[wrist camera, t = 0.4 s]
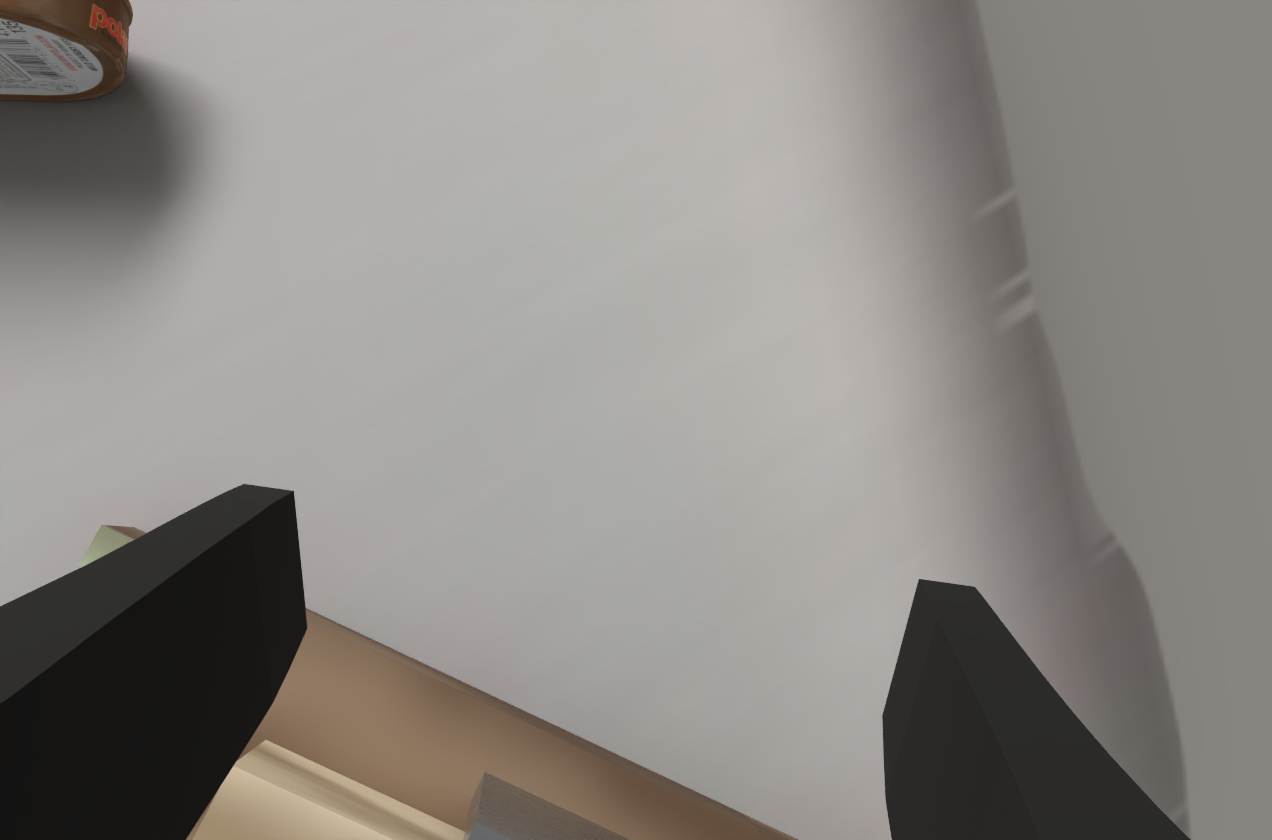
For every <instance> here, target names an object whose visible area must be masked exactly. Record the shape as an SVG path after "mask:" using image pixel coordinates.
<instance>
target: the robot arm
mask: <svg viewBox="0 0 1272 840" xmlns="http://www.w3.org/2000/svg"><path fill="white" fill-rule="evenodd" d="M306 631H307V619H306V609H305V599H304V589H303V579H302V569H301V559H300V549H299V539H298V529H297V519H296V509H295V499H294V491H290V490H283V489H275V488H268V487H261V486H254V485H247V484H243V485H241V486H238V487H236V488H234V489H232V490H229V491H227V492H225V493H223V494H221V495H219V496H217V497H215V498H213V499H211V500H209V501H207V502H205V503H203V504H201V505H199V506H197V507H195V508H193V509H191V510H189V511H188V512H186V513H184V514H182V515H180V516H178V517H176V518H174V519H173V520H171V521H169V522H167V523H165V524H163V525H161V526H159V527H158V528H156V529H154V530H152V531H150V532H148V533H146V534H144V535H142V536H141V537H139V538H137V539H135V540H133V541H131V542H129V543H127V544H125V545H123V546H121V547H120V548H118V549H116V550H114V551H112V552H110V553H108V554H106V555H104V556H102V557H101V558H99V559H97V560H95V561H93V562H91V563H89V564H87V565H85V566H83V567H81V568H79V569H77V570H75V571H73V572H71V573H69V574H67V575H65V576H63V577H61V578H59V579H57V580H55V581H52V582H50V583H48V584H46V585H44V586H42V587H40V588H38V589H36V590H34V591H32V592H30V593H27V594H25V595H23V596H21V597H19V598H17V599H15V600H13V601H11V602H9V603H7V604H5V605H3V606H0V840H186V839H187V837H188V836H189V834H190V833H191V831H192V830H193V828H194V826H195V825H196V823H197V822H198V820H199V819H200V817H201V816H202V814H203V812H204V811H205V809H206V808H207V806H208V805H209V803H210V802H211V800H212V799H213V797H214V795H215V794H216V792H217V791H218V789H219V788H220V786H221V785H222V783H223V781H224V780H225V778H226V777H227V775H228V774H229V772H230V771H231V769H232V768H233V766H234V764H235V763H236V761H237V760H238V758H239V757H240V755H241V753H242V752H243V750H244V749H245V747H246V746H247V744H248V742H249V741H250V739H251V738H252V736H253V734H254V733H255V731H256V730H257V728H258V727H259V725H260V723H261V722H262V720H263V719H264V717H265V715H266V714H267V712H268V710H269V709H270V707H271V705H272V704H273V702H274V700H275V698H276V696H277V694H278V692H279V690H280V688H281V685H282V683H283V681H284V679H285V677H286V675H287V673H288V671H289V669H290V667H291V664H292V662H293V660H294V658H295V655H296V653H297V651H298V649H299V646H300V644H301V642H302V640H303V637H304V635H305V633H306ZM883 747H884V773H885V794H886V805H887V811H888V818H889V824H890V830H891V837H892V840H1190V839H1189V838H1188V837H1187V836H1186V835H1185V834H1184V833H1183V832H1182V831H1181V830H1180V829H1179V828H1178V827H1177V826H1176V825H1175V824H1174V823H1173V822H1172V821H1171V820H1170V819H1169V818H1168V817H1167V816H1166V815H1165V814H1164V813H1163V812H1162V811H1161V810H1160V809H1159V808H1158V807H1157V806H1156V805H1155V804H1154V802H1153V801H1152V800H1151V799H1150V798H1149V797H1148V796H1147V795H1146V794H1145V793H1144V792H1143V791H1142V789H1141V788H1140V787H1139V786H1138V785H1137V784H1136V783H1135V782H1134V781H1133V780H1132V779H1131V778H1130V776H1129V775H1128V774H1127V773H1126V772H1125V771H1124V770H1123V769H1122V768H1121V767H1120V766H1119V765H1118V763H1117V762H1116V761H1115V760H1114V759H1113V758H1112V757H1111V756H1110V755H1109V754H1108V752H1107V751H1106V750H1105V749H1104V748H1103V747H1102V746H1101V744H1100V743H1099V742H1098V741H1097V740H1096V739H1095V738H1094V736H1093V735H1092V734H1091V733H1090V732H1089V731H1088V729H1087V728H1086V727H1085V726H1084V725H1083V724H1082V722H1081V721H1080V720H1079V719H1078V718H1077V716H1076V715H1075V714H1074V713H1073V712H1072V710H1071V709H1070V708H1069V707H1068V706H1067V704H1066V703H1065V702H1064V701H1063V699H1062V698H1061V697H1060V696H1059V695H1058V693H1057V692H1056V691H1055V690H1054V688H1053V687H1052V686H1051V685H1050V683H1049V682H1048V681H1047V680H1046V678H1045V677H1044V676H1043V675H1042V673H1041V672H1040V671H1039V670H1038V668H1037V667H1036V666H1035V664H1034V663H1033V662H1032V661H1031V659H1030V658H1029V657H1028V655H1027V654H1026V653H1025V651H1024V650H1023V649H1022V648H1021V646H1020V645H1019V644H1018V642H1017V641H1016V640H1015V638H1014V637H1013V636H1012V635H1011V633H1010V632H1009V631H1008V629H1007V628H1006V627H1005V625H1004V624H1003V623H1002V621H1001V620H1000V619H999V617H998V616H997V615H996V613H995V612H994V611H993V610H992V608H991V607H990V606H989V604H988V603H987V602H986V600H985V599H984V598H983V596H982V595H981V594H980V593H979V591H978V590H977V589H976V588H975V587H972V586H965V585H958V584H951V583H943V582H936V581H929V580H922V579H919V581H918V585H917V588H916V592H915V596H914V600H913V603H912V607H911V611H910V615H909V618H908V622H907V626H906V630H905V633H904V637H903V641H902V645H901V648H900V652H899V656H898V660H897V663H896V667H895V671H894V675H893V678H892V682H891V686H890V690H889V693H888V697H887V701H886V705H885V708H884V712H883Z"/></svg>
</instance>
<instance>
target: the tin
mask: <svg viewBox="0 0 1272 840" xmlns="http://www.w3.org/2000/svg"><path fill="white" fill-rule="evenodd" d="M132 17H133V12H132V7H131V4H130V2H129V0H0V99H3V100H27V101H77V100H85V99H90V98H95V97H99V96H103V95H105V94H108V93H110V92H112V91H113V90H115V89H116V88H117V87H118V86H119V85H120V84H121V83H122V81H123V79H124V77H125V73H126V68H127V58H128V34H129V26H130V24H131V22H132Z"/></svg>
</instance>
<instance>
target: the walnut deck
mask: <svg viewBox="0 0 1272 840" xmlns="http://www.w3.org/2000/svg"><path fill="white" fill-rule="evenodd" d="M144 534H146V533H145V532H143V531H141V530H139V529H136V528H134V527H122V526H107V525H101V527H100V529H99V531H98V532H97V534H96V536H95V538H94V539H93V541H92V543H91V545H90V546H89V548H88V550H87V552H86V553H85V555H84V557H83V559H82V560H81V562H80V564H79V566H78V567H80V568H81V567H83V566H85V565H87V564H89V563H91V562H93V561H95V560H97V559H99V558H101V557H102V556H104V555H106V554H108V553H110V552H112V551H114V550H116V549H118V548H120V547H121V546H123V545H125V544H127V543H129V542H131V541H133V540H135V539H137V538H139V537H141V536H142V535H144ZM305 609H306V608H305ZM306 619H307V631H306V633H305V635H304V637H303V640H302V642H301V644H300V646H299V649H298V651H297V653H296V655H295V658H294V660H293V662H292V664H291V667H290V669H289V671H288V673H287V675H286V677H285V679H284V681H283V683H282V685H281V688H280V690H279V692H278V694H277V696H276V698H275V700H274V702H273V704H272V705H271V707H270V709H269V710H268V712H267V714H266V715H265V717H264V719H263V720H262V722H261V723H260V725H259V727H258V728H257V730H256V731H255V733H254V734H253V736H252V738H251V739H250V741H249V742H248V744H247V746H246V747H245V749H244V750H243V752H242V753H241V755H240V757H239V758H238V760H239V759H240V758H242V757H243V756H244V755H246V754H247V753H249V752H250V751H251V750H253V749H254V748H255V747H257V746H258V745H260V744H261V743H262V742H264V741H265V740H267V741H270V742H272V743H274V744H276V745H278V746H280V747H283V748H285V749H287V750H289V751H291V752H293V753H296V754H298V755H300V756H302V757H304V758H306V759H308V760H311V761H313V762H315V763H317V764H319V765H321V766H324V767H326V768H328V769H330V770H332V771H334V772H337V773H339V774H341V775H343V776H345V777H347V778H349V779H352V780H354V781H356V782H358V783H360V784H362V785H365V786H367V787H369V788H371V789H373V790H375V791H378V792H380V793H382V794H384V795H386V796H388V797H391V798H393V799H395V800H397V801H399V802H401V803H403V804H406V805H408V806H410V807H412V808H414V809H416V810H419V811H421V812H423V813H425V814H427V815H429V816H432V817H434V818H436V819H438V820H440V821H442V822H444V823H447V824H449V825H451V826H453V827H455V828H457V829H460V830H462V831H464V832H465V829H466V824H467V819H468V814H469V809H470V804H471V799H472V797H473V795H474V793H475V791H476V789H477V787H478V785H479V783H480V781H481V778H482V776H483V774H484V772H486V773H488V774H491V775H493V776H495V777H497V778H499V779H501V780H503V781H506V782H508V783H510V784H512V785H514V786H516V787H518V788H521V789H523V790H525V791H527V792H529V793H531V794H533V795H536V796H538V797H540V798H542V799H544V800H546V801H548V802H551V803H553V804H555V805H557V806H559V807H561V808H563V809H566V810H568V811H570V812H572V813H574V814H576V815H578V816H581V817H583V818H585V819H587V820H589V821H591V822H593V823H596V824H598V825H600V826H602V827H604V828H606V829H608V830H611V831H613V832H615V833H617V834H619V835H621V836H623V837H626V838H628V839H630V840H797V839H795V838H793V837H791V836H789V835H787V834H785V833H782V832H780V831H778V830H776V829H774V828H772V827H770V826H768V825H765V824H763V823H761V822H759V821H757V820H755V819H753V818H751V817H748V816H746V815H744V814H742V813H740V812H738V811H736V810H734V809H731V808H729V807H727V806H725V805H723V804H721V803H719V802H717V801H714V800H712V799H710V798H708V797H706V796H704V795H702V794H700V793H697V792H695V791H693V790H691V789H689V788H687V787H685V786H683V785H680V784H678V783H676V782H674V781H672V780H670V779H668V778H666V777H663V776H661V775H659V774H657V773H655V772H653V771H651V770H649V769H646V768H644V767H642V766H640V765H638V764H636V763H634V762H632V761H629V760H627V759H625V758H623V757H621V756H619V755H617V754H615V753H612V752H610V751H608V750H606V749H604V748H602V747H600V746H598V745H595V744H593V743H591V742H589V741H587V740H585V739H583V738H581V737H578V736H576V735H574V734H572V733H570V732H568V731H566V730H564V729H561V728H559V727H557V726H555V725H553V724H551V723H549V722H547V721H544V720H542V719H540V718H538V717H536V716H534V715H532V714H530V713H527V712H525V711H523V710H521V709H519V708H517V707H515V706H513V705H510V704H508V703H506V702H504V701H502V700H500V699H498V698H496V697H493V696H491V695H489V694H487V693H485V692H483V691H481V690H479V689H476V688H474V687H472V686H470V685H468V684H466V683H464V682H462V681H459V680H457V679H455V678H453V677H451V676H449V675H447V674H445V673H442V672H440V671H438V670H436V669H434V668H432V667H430V666H428V665H425V664H423V663H421V662H419V661H417V660H415V659H413V658H411V657H408V656H406V655H404V654H402V653H400V652H398V651H396V650H394V649H391V648H389V647H387V646H385V645H383V644H381V643H379V642H377V641H374V640H372V639H370V638H368V637H366V636H364V635H362V634H360V633H357V632H355V631H353V630H351V629H349V628H347V627H345V626H343V625H340V624H338V623H336V622H334V621H332V620H330V619H328V618H326V617H323V616H321V615H319V614H317V613H315V612H313V611H311V610H309V609H306ZM238 760H237V761H238ZM218 790H219V789H218ZM217 792H218V791H217ZM217 792H216V794H217ZM216 794H215V795H216ZM215 795H214V797H215ZM214 797H213V799H214ZM213 799H212V800H211V802H210V803H209V805H208V806H207V808H206V809H205V811H204V812H203V814H202V816H201V817H200V819H199V820H198V822H197V823H196V825H195V826H194V828H193V830H192V831H191V833H190V834H189V836H188V837H187V839H186V840H193V838H194V836H195V834H196V832H197V830H198V828H199V826H200V824H201V822H202V820H203V818H204V817H205V815H206V813H207V811H208V809H209V807H210V805H211V803H212V801H213Z"/></svg>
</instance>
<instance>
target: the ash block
mask: <svg viewBox="0 0 1272 840" xmlns="http://www.w3.org/2000/svg"><path fill="white" fill-rule="evenodd" d="M464 833H465V832H464V831H462V830H460V829H457V828H455V827H453V826H451V825H449V824H447V823H444V822H442V821H440V820H438V819H436V818H434V817H432V816H429V815H427V814H425V813H423V812H421V811H419V810H416V809H414V808H412V807H410V806H408V805H406V804H403V803H401V802H399V801H397V800H395V799H393V798H391V797H388V796H386V795H384V794H382V793H380V792H378V791H375V790H373V789H371V788H369V787H367V786H365V785H362V784H360V783H358V782H356V781H354V780H352V779H349V778H347V777H345V776H343V775H341V774H339V773H337V772H334V771H332V770H330V769H328V768H326V767H324V766H321V765H319V764H317V763H315V762H313V761H311V760H308V759H306V758H304V757H302V756H300V755H298V754H296V753H293V752H291V751H289V750H287V749H285V748H283V747H280V746H278V745H276V744H274V743H272V742H270V741H267V740H265V741H264V742H262V743H261V744H260V745H258V746H257V747H255V748H254V749H253V750H251V751H250V752H249V753H247V754H246V755H244V756H243V757H242V758H240V759H239V760H238V761H236V763H235V764H234V766H233V768H232V769H231V771H230V772H229V774H228V775H227V777H226V778H225V780H224V781H223V783H222V785H221V786H220V788H219V790H218V792H217V794H216V795H215V797H214V799H213V801H212V803H211V805H210V807H209V809H208V811H207V813H206V815H205V817H204V818H203V820H202V822H201V824H200V826H199V828H198V830H197V832H196V834H195V836H194V838H193V840H463V838H464Z"/></svg>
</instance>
